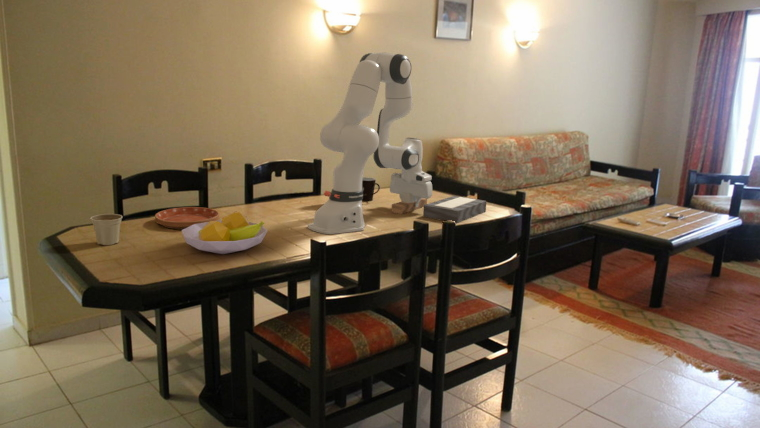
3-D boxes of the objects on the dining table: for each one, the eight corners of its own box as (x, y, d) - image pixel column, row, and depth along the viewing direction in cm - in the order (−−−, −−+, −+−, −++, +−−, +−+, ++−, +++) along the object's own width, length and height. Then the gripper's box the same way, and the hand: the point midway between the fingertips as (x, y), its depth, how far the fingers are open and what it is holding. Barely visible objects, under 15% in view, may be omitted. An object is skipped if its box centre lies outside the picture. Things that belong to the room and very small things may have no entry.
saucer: (217, 230, 205) (217, 220, 204) (150, 231, 200) (150, 221, 199) (221, 215, 227) (220, 206, 226) (160, 216, 222) (160, 207, 221)
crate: (409, 203, 246) (409, 194, 245) (401, 202, 249) (401, 193, 248) (413, 202, 250) (414, 193, 249) (406, 200, 252) (406, 191, 251)
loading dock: (457, 223, 230) (458, 210, 228) (423, 216, 238) (423, 204, 237) (485, 211, 252) (486, 200, 251) (453, 206, 261) (454, 195, 260)
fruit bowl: (167, 245, 184) (166, 211, 181) (241, 232, 203) (240, 201, 200) (210, 267, 165) (208, 230, 162) (286, 251, 184) (286, 217, 181)
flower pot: (115, 237, 191) (113, 212, 189) (129, 243, 185) (128, 217, 183) (87, 242, 184) (84, 216, 182) (100, 248, 178) (98, 222, 176)
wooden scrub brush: (401, 215, 241) (401, 206, 240) (391, 213, 244) (391, 204, 243) (426, 207, 259) (427, 198, 258) (417, 205, 262) (417, 196, 261)
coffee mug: (353, 198, 269) (354, 177, 267) (370, 197, 273) (371, 177, 270) (363, 203, 259) (364, 182, 257) (380, 202, 262) (381, 181, 260)
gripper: (387, 172, 251) (386, 203, 254) (427, 178, 240) (425, 210, 243) (395, 171, 256) (394, 200, 259) (435, 176, 245) (433, 207, 248)
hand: (409, 205), depth 251 cm, fingers closed on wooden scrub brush, 5 cm apart
